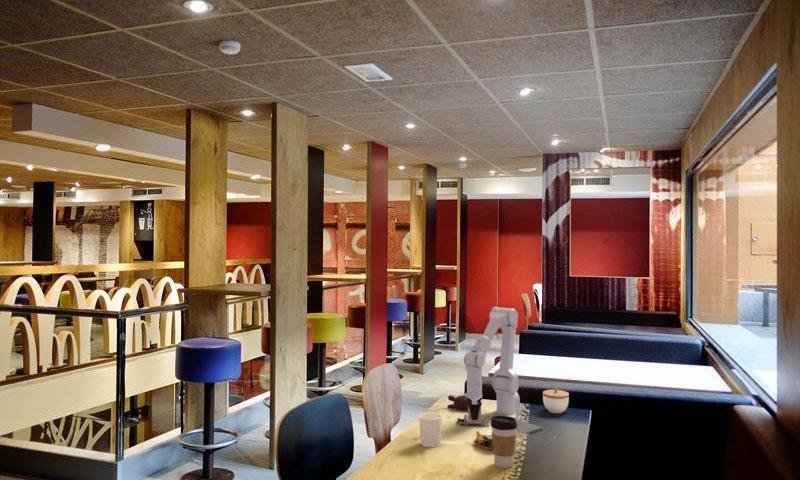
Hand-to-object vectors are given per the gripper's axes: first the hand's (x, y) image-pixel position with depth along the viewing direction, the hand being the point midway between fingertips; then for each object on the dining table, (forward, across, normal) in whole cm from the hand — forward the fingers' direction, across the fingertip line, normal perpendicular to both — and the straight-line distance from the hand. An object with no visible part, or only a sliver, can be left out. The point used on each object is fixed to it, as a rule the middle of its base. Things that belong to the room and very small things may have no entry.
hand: (474, 418), depth 233 cm
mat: (+3, +2, +18) cm, 18 cm away
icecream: (+3, -20, -5) cm, 21 cm away
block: (+1, 0, 0) cm, 1 cm away
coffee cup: (+3, +39, +9) cm, 40 cm away
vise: (+3, 0, 0) cm, 3 cm away
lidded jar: (+3, -24, +34) cm, 42 cm away
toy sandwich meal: (+4, +21, +6) cm, 22 cm away
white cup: (+3, +23, -16) cm, 28 cm away
